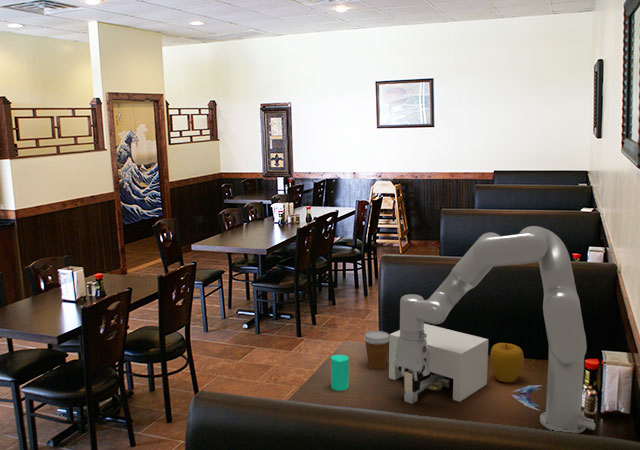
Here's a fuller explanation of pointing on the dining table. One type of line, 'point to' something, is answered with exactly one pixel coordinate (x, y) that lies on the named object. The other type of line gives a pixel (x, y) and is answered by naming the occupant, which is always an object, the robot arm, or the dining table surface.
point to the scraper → (424, 384)
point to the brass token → (436, 386)
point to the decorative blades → (526, 399)
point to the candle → (339, 372)
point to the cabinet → (451, 358)
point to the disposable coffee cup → (376, 348)
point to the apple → (506, 361)
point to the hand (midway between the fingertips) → (411, 388)
